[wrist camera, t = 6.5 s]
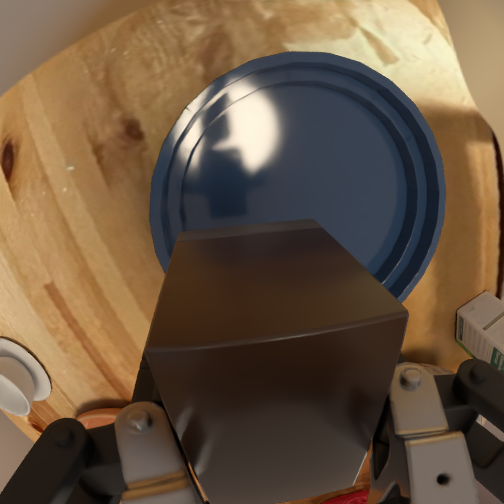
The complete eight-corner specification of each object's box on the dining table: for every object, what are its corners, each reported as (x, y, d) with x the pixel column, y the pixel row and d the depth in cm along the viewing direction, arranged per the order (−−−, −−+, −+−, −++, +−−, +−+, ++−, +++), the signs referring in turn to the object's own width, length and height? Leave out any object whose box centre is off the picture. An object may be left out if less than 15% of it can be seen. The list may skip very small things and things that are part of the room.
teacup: (-16, 322, 25) (-35, 345, 21) (52, 358, 28) (37, 387, 23) (-8, 377, 28) (-22, 399, 24) (52, 408, 30) (41, 434, 26)
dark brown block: (178, 231, 10) (142, 349, 4) (313, 217, 10) (411, 311, 5) (208, 386, 13) (212, 510, 7) (310, 372, 13) (353, 487, 7)
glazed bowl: (143, 78, 20) (130, 68, 16) (415, 73, 21) (442, 69, 18) (186, 338, 28) (183, 366, 24) (407, 302, 30) (427, 322, 26)
